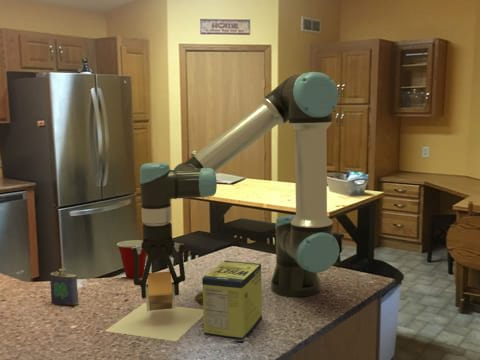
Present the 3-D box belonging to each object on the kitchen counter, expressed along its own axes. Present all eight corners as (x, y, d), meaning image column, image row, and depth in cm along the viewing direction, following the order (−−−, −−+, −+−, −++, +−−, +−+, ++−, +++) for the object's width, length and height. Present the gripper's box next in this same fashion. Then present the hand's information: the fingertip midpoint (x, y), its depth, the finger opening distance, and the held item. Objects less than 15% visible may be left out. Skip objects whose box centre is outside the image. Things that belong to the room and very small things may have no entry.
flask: (80, 303, 154) (78, 268, 153) (74, 307, 152) (71, 271, 150) (55, 300, 158) (52, 265, 156) (48, 303, 155) (45, 268, 154)
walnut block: (170, 288, 146) (170, 271, 138) (172, 308, 142) (172, 292, 134) (148, 290, 145) (147, 273, 137) (149, 310, 141) (148, 294, 133)
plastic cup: (154, 271, 183) (153, 237, 182) (146, 281, 173) (144, 246, 171) (124, 271, 184) (122, 237, 183) (114, 281, 174) (112, 246, 172)
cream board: (209, 313, 145) (208, 310, 144) (176, 345, 126) (176, 341, 126) (144, 306, 151) (144, 302, 151) (104, 334, 133) (104, 331, 133)
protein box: (262, 319, 140) (261, 262, 138) (243, 344, 126) (241, 281, 123) (226, 314, 144) (224, 259, 142) (203, 338, 129) (201, 277, 127)
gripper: (192, 217, 141) (195, 299, 145) (120, 221, 138) (124, 306, 141) (194, 223, 134) (198, 310, 137) (118, 228, 131) (123, 316, 134)
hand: (161, 307), depth 139 cm, fingers closed on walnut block, 6 cm apart
